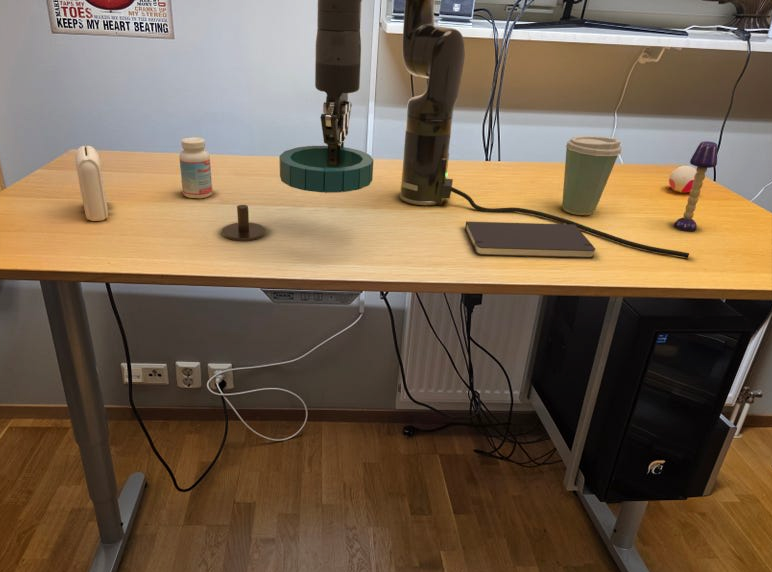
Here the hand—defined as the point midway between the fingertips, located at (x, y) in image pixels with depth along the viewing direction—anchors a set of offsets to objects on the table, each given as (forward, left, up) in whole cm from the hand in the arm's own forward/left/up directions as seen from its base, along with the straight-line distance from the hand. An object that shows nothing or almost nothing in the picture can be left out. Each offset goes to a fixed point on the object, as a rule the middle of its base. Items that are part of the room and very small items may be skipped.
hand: (335, 164), depth 118 cm
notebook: (-36, -4, -12) cm, 38 cm away
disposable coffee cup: (-47, -26, -12) cm, 55 cm away
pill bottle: (+32, -11, -12) cm, 36 cm away
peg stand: (+15, +7, -12) cm, 21 cm away
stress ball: (-72, -47, -12) cm, 87 cm away
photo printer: (+46, +5, -12) cm, 48 cm away
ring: (0, +7, -1) cm, 7 cm away
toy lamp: (-67, -22, -12) cm, 72 cm away
